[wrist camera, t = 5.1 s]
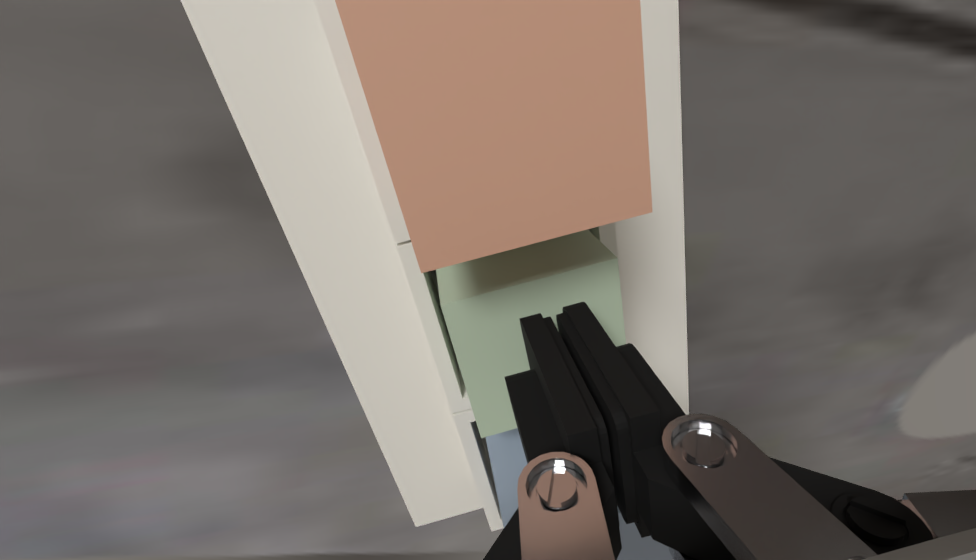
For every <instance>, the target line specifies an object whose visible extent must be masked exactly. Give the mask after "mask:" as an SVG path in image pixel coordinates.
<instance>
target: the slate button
mask: <svg viewBox="0 0 976 560" xmlns="http://www.w3.org/2000/svg"><path fill="white" fill-rule="evenodd" d="M486 442H487V447H488V452H489V457H490V462H491V467H492V472H493V477H494V482H495V487H496V492H497V497H498V502H499V507H500V512H501V517H502V522H503V527H504V528H505V526H506V525H507V523H508V522H509V520H510V519H511V517H512V516H513V514H514V513H515V511H516V510H517V508H518V493H517V487H518V478H519V476H520V474H521V472H522V470H523V468H524V467H525V466H526V465H527V460H526V457H525V453H524V449H523V446H522V442H521V439H520V435H519V432H518V428H516V429H512V430H509V431H505V432H502V433H498V434H495V435H491V436H487V437H486ZM617 509H618V516H619V525H620V526H619V529H620V537H621V544H622V549H621V551H620V554H619V556H618V558H617V560H673V557H672V555H671V554H670V552H669V547H668V546H666V545H664V544H661V543H659V542H657V541H655V540H653V539H652V537H651V536H647V537H644V538H641V535H640V533H639V531H638V529H637V527H636V525H635V523H630V524H626V523H625V521H624V519H623V517H622V515H621V513H620V510H619V508H618V506H617Z"/></svg>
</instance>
